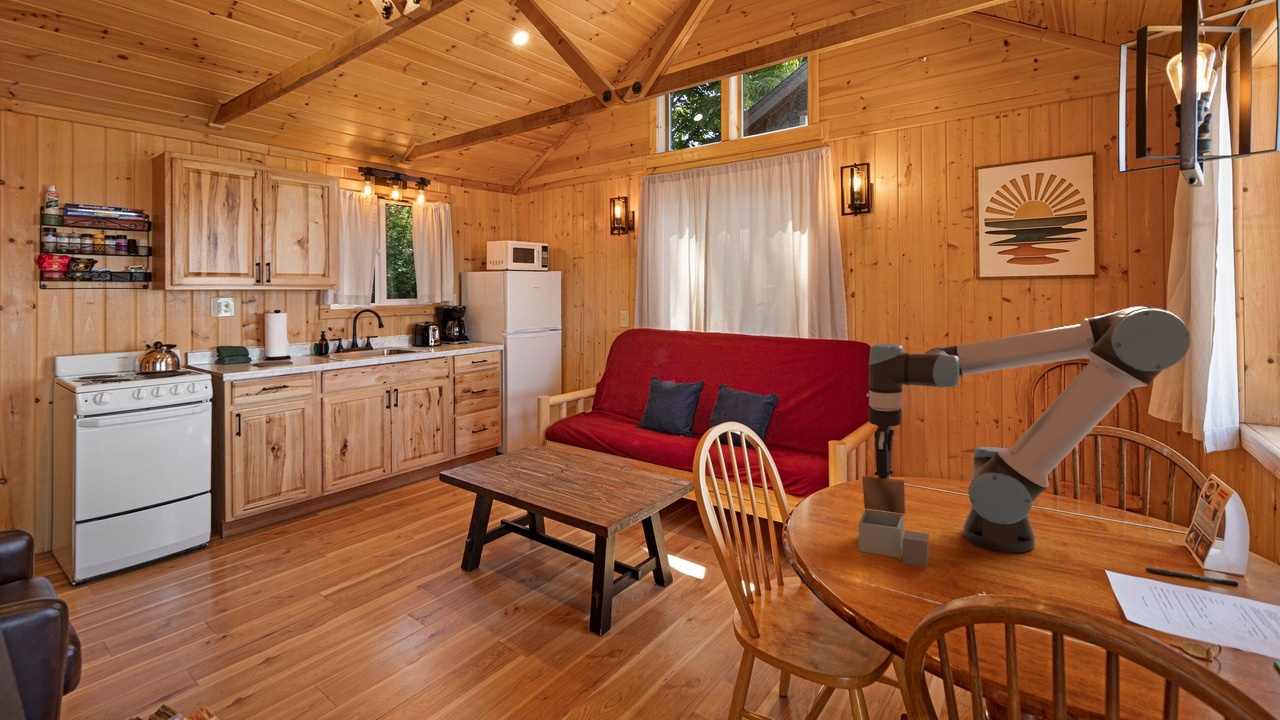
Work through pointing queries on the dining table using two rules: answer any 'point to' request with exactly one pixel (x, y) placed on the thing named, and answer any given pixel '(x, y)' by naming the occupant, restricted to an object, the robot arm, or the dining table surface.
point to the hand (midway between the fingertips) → (883, 499)
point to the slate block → (915, 548)
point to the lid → (884, 494)
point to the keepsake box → (881, 533)
